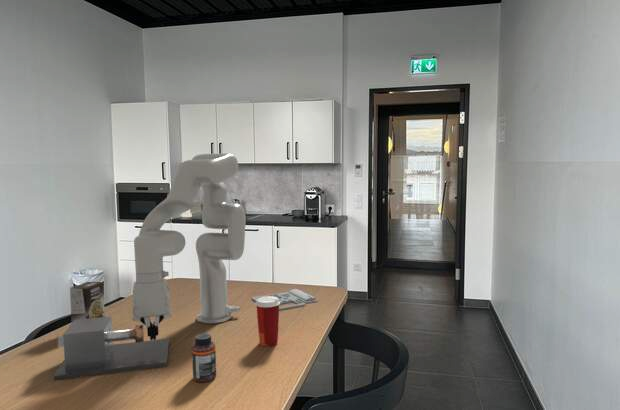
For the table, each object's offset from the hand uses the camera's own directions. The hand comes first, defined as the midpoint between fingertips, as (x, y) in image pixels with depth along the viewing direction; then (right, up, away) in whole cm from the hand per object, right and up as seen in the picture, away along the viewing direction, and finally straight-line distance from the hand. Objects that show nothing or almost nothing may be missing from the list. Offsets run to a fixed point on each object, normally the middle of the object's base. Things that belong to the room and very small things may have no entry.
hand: (153, 338), depth 129 cm
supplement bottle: (+19, -6, -14) cm, 24 cm away
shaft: (-13, -1, -4) cm, 14 cm away
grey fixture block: (-10, -5, -2) cm, 11 cm away
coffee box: (-30, -4, +21) cm, 37 cm away
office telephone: (+36, -1, +53) cm, 64 cm away
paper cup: (+33, -4, +8) cm, 34 cm away
